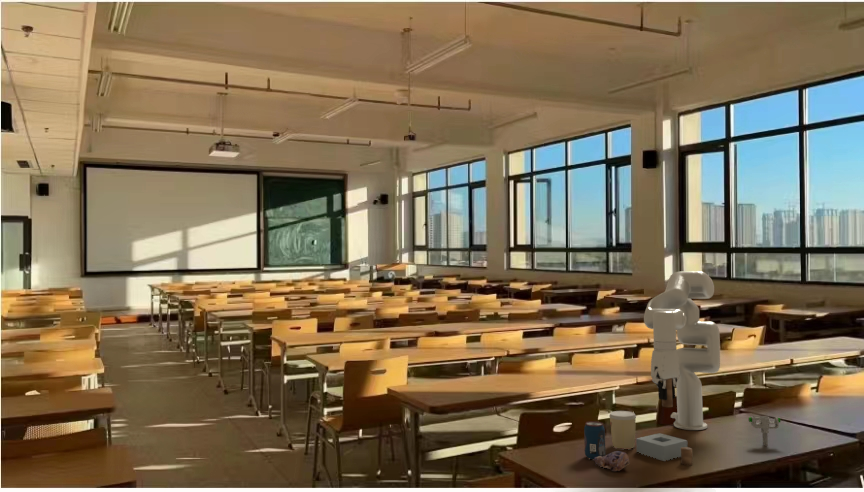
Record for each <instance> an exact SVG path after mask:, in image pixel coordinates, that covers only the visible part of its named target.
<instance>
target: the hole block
mask: <svg viewBox="0 0 864 492" xmlns="http://www.w3.org/2000/svg"><path fill="white" fill-rule="evenodd" d="M635 443H636V444H635V446H636V453H637V452H639V453H641V454H640V455H643V454H644V455H643V456H646V455H647V456H646V457H649V456H650V458H652V457H653V458H652V459H655V458H656V459H655V460H659V461H663V462H666V460H667V461H671V460H674V459H673V458H675V459H677V457H678V458H681V448H682V447H689V446H688V440H686V439H683V438H680V437H675V436H672V435H668V434H665V433H660V432H658V433H654V434H650V435H645V436H641V437H637V438H636V437H635ZM639 453H638V454H639ZM670 459H671V460H670Z"/></svg>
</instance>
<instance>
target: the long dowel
mask: <svg viewBox="0 0 864 492" xmlns="http://www.w3.org/2000/svg"><path fill="white" fill-rule="evenodd" d="M661 383H662V381H661ZM665 388H666V389H667V400H662V399H661V406H662V407H663V408H673V406H674V404H673V402H674V401H673V400H674V399H673V398H672V378H670V379H666V387H665Z"/></svg>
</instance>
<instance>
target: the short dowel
mask: <svg viewBox="0 0 864 492" xmlns="http://www.w3.org/2000/svg"><path fill="white" fill-rule="evenodd" d="M680 458H681V459H680V461H681V465H683V464H684V465H683V466H692V464H694V463H693V462H694V461H693V448H692V447H689V446H688V447H682V448H681V457H680Z"/></svg>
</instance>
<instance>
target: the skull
mask: <svg viewBox="0 0 864 492" xmlns="http://www.w3.org/2000/svg"><path fill="white" fill-rule="evenodd" d="M593 461H594V463H595V465H596V464H597V465H598V467H599V466H602V467H603V468H602V469H604V468H607V469H609V470H610V471H611V472H620V471H621V470H623V468H626V466H628V465H630V464H631V462H630V461H631V460H630V459H629V455H628V453H626V452H624V451H620V450H616V451H612V452H610V453H608V454H606V455H605V456H598V457H595V458H594V460H593Z"/></svg>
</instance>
